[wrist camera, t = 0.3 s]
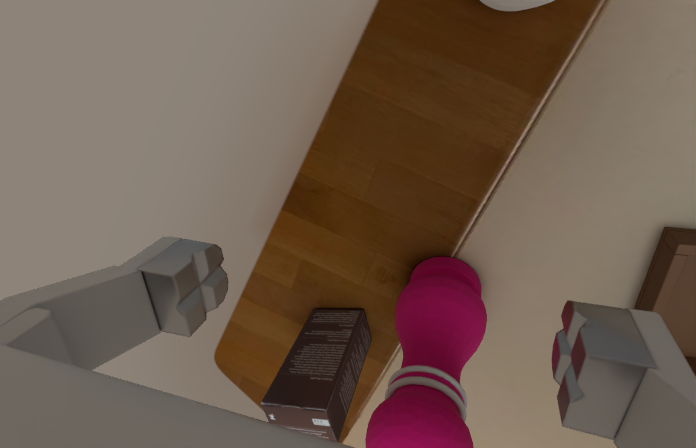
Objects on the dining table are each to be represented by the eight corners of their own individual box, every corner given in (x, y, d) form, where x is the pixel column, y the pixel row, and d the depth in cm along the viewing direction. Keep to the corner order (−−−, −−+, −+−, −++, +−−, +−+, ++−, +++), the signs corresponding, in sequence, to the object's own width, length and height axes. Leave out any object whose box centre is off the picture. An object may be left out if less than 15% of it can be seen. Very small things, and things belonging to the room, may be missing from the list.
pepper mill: (403, 309, 38) (336, 538, 22) (407, 245, 35) (330, 457, 18) (481, 323, 36) (474, 588, 20) (492, 256, 33) (495, 506, 16)
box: (323, 340, 44) (273, 437, 34) (313, 307, 42) (256, 400, 32) (375, 342, 42) (338, 448, 31) (366, 308, 40) (324, 407, 30)
